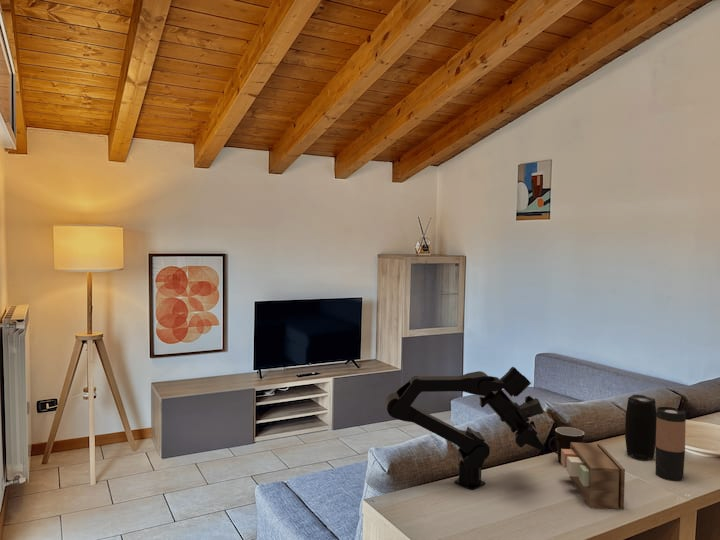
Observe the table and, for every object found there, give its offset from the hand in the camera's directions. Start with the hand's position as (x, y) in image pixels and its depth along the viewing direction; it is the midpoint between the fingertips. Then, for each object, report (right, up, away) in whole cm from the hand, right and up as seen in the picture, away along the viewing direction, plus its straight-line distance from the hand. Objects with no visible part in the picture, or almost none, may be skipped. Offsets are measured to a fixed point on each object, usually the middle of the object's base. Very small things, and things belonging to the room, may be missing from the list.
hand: (544, 449), depth 152 cm
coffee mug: (+13, -11, +19) cm, 26 cm away
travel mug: (+41, -11, +9) cm, 43 cm away
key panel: (+13, -11, -2) cm, 18 cm away
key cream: (+9, -6, -2) cm, 11 cm away
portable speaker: (+40, -11, +25) cm, 49 cm away
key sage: (+10, -6, -8) cm, 15 cm away
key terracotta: (+10, -6, +4) cm, 12 cm away
